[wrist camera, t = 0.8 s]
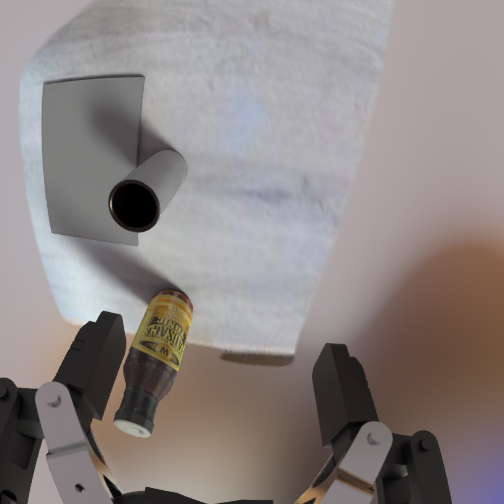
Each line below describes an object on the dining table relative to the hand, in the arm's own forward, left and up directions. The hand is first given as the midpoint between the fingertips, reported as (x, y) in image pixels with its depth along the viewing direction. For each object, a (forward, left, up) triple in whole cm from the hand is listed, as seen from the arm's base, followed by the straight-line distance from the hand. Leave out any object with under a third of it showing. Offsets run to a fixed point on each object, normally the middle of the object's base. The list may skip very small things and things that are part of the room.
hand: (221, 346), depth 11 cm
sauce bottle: (+20, -7, -23) cm, 31 cm away
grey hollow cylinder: (+1, -8, -23) cm, 24 cm away
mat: (+1, -18, -23) cm, 29 cm away
